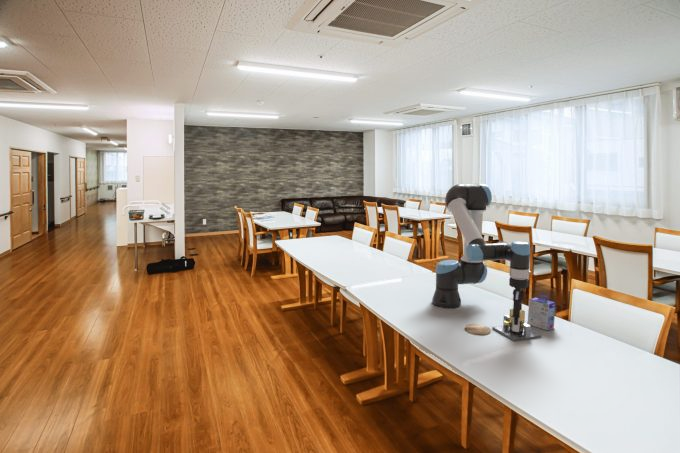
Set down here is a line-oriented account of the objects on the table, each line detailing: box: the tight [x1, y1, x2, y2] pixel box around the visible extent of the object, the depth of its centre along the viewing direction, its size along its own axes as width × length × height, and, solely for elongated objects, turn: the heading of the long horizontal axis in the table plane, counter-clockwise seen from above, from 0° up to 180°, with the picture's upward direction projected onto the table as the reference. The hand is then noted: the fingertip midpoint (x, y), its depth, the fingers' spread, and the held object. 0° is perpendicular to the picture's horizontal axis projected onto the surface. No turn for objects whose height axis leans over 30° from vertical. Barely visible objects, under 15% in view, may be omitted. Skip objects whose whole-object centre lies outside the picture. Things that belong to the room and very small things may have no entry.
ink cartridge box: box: [526, 293, 556, 331], centre depth 175 cm, size 10×6×14 cm, turn 32°
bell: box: [503, 308, 526, 329], centre depth 168 cm, size 10×6×7 cm, turn 60°
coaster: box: [464, 323, 492, 336], centre depth 173 cm, size 11×11×1 cm
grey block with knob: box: [491, 314, 543, 342], centre depth 169 cm, size 14×14×6 cm
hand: (516, 328), depth 169 cm, fingers closed on bell, 6 cm apart
